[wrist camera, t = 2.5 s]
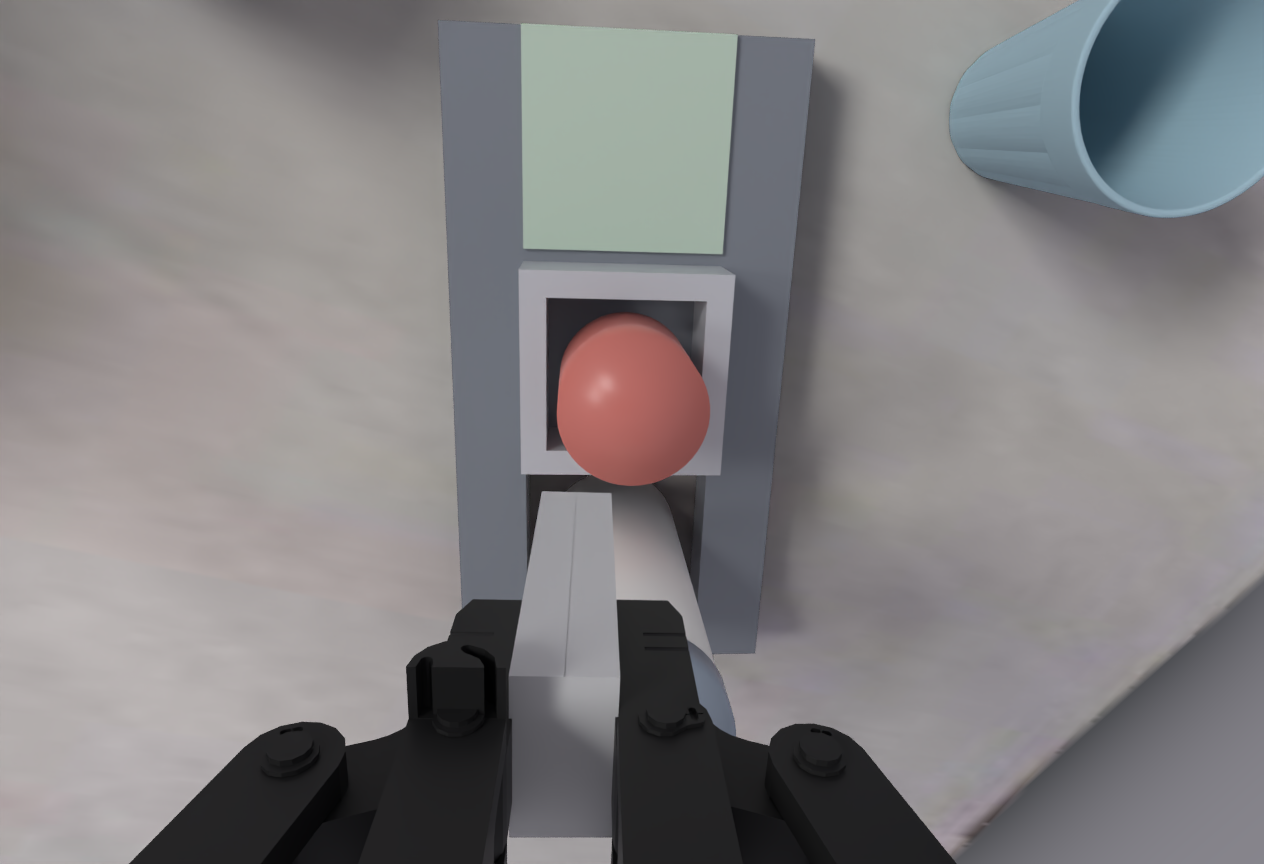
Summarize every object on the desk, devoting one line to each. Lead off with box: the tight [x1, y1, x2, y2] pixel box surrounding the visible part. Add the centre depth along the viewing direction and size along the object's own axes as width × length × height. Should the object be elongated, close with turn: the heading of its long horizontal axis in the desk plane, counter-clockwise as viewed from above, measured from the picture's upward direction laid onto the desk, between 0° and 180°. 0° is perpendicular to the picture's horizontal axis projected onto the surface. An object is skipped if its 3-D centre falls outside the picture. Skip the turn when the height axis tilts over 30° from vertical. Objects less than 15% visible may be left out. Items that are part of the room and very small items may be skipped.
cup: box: [949, 0, 1264, 218], centre depth 28 cm, size 8×8×10 cm
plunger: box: [557, 312, 710, 486], centre depth 27 cm, size 5×5×5 cm
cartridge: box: [566, 475, 736, 737], centre depth 30 cm, size 6×6×15 cm
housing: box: [438, 20, 815, 654], centre depth 32 cm, size 14×27×6 cm, turn 178°
